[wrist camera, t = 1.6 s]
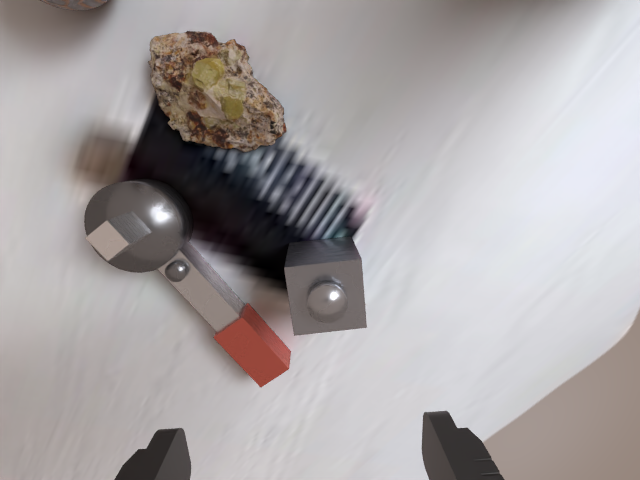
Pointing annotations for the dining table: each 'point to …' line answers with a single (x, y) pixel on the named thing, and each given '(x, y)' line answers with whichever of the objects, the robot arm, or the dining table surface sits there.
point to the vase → (75, 4)
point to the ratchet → (180, 267)
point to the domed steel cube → (325, 286)
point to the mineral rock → (213, 92)
